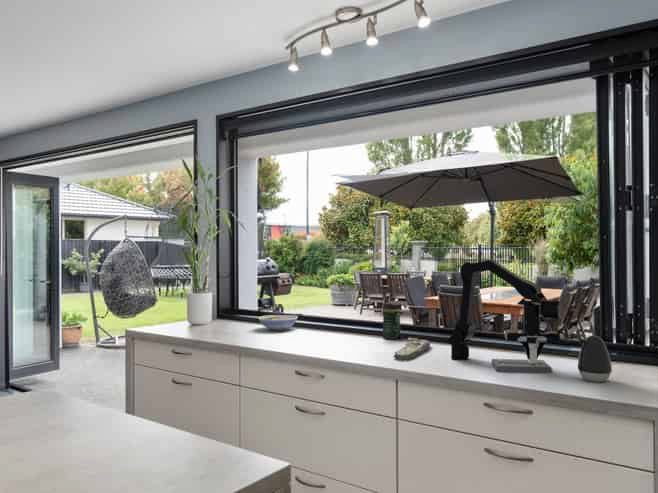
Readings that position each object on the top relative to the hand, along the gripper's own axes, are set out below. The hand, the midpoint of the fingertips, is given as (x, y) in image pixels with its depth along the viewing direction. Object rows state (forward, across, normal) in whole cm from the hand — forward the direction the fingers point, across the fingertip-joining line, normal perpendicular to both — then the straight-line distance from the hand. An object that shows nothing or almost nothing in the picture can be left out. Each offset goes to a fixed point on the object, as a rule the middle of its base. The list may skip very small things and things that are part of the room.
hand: (532, 359), depth 188 cm
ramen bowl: (+4, +121, -81) cm, 146 cm away
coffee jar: (+4, +55, -60) cm, 82 cm away
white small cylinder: (+1, 0, 0) cm, 1 cm away
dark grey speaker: (+4, -17, +15) cm, 23 cm away
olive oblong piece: (+4, +44, -25) cm, 51 cm away
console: (+4, +4, 0) cm, 6 cm away
